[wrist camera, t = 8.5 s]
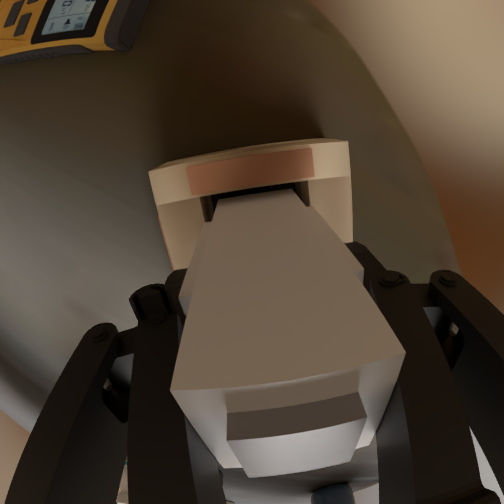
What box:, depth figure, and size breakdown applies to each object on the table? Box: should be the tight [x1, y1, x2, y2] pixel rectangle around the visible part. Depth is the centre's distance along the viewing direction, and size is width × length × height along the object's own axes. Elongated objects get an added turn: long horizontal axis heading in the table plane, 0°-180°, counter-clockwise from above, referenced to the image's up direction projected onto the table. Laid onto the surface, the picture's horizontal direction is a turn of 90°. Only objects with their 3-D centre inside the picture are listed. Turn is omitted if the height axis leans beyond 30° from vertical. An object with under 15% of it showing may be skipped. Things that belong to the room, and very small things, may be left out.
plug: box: [170, 188, 406, 478], centre depth 10 cm, size 4×4×13 cm
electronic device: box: [0, 0, 151, 64], centre depth 9 cm, size 8×16×3 cm, turn 74°
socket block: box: [148, 138, 353, 271], centre depth 18 cm, size 10×18×4 cm, turn 8°
